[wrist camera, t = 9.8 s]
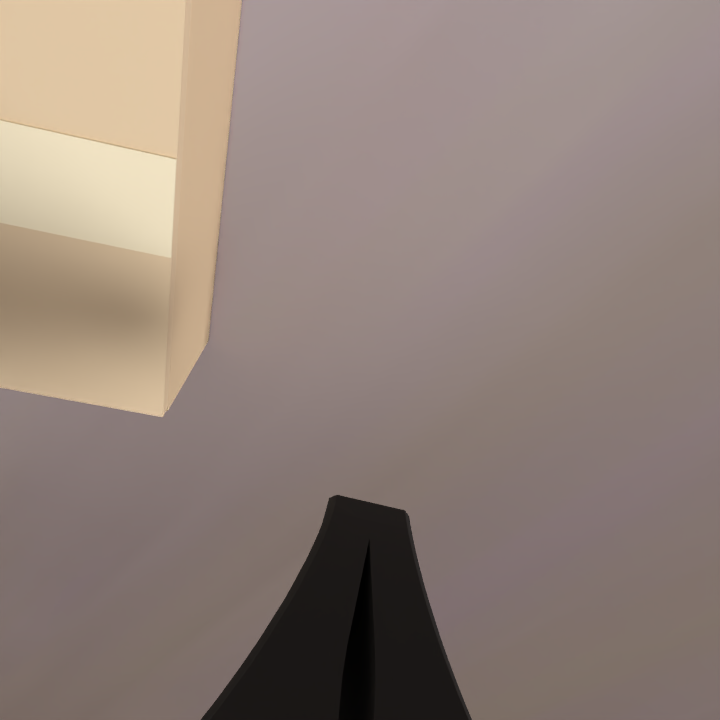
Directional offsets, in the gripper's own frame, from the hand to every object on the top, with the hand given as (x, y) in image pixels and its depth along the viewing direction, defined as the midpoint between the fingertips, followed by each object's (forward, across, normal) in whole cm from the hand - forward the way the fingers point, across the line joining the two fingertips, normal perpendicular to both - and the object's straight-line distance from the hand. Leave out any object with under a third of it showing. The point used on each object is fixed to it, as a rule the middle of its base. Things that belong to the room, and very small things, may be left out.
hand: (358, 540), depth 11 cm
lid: (+6, +9, -3) cm, 11 cm away
